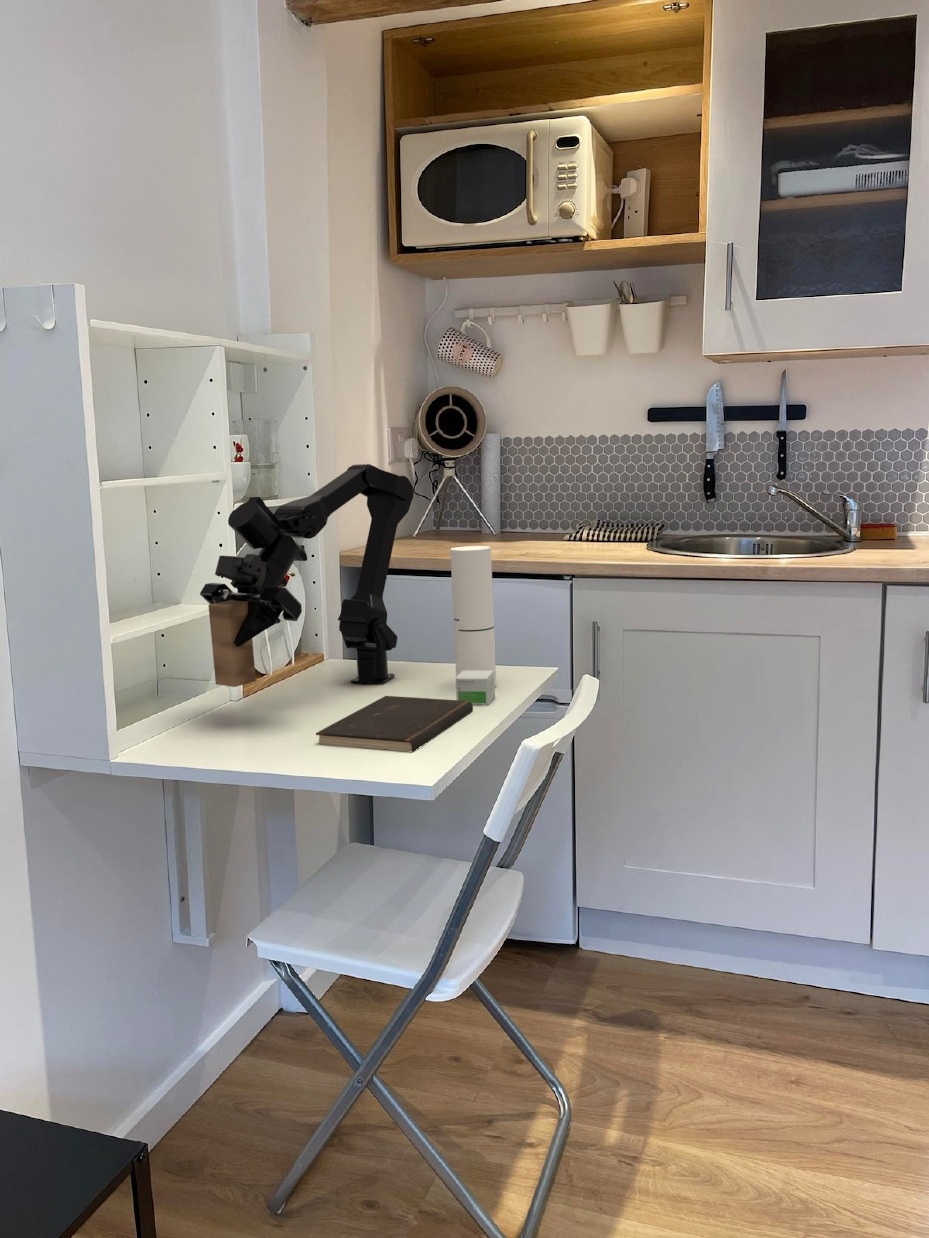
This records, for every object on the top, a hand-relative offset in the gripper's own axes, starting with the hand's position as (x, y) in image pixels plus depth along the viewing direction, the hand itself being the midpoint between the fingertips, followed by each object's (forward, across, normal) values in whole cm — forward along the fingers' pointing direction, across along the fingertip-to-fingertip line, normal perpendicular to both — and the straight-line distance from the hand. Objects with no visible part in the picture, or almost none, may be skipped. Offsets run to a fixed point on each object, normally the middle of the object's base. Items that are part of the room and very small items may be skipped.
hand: (225, 644), depth 164 cm
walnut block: (+4, 0, +6) cm, 7 cm away
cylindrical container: (-18, +21, +37) cm, 46 cm away
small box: (-12, +27, +31) cm, 43 cm away
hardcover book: (+2, +25, +18) cm, 31 cm away
